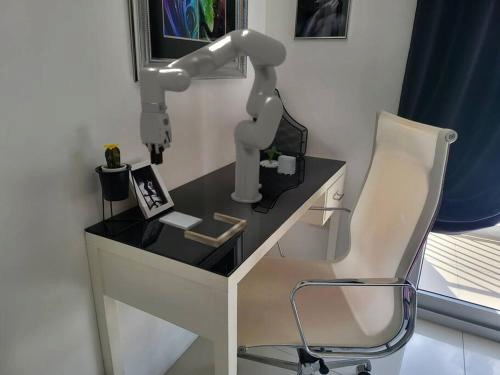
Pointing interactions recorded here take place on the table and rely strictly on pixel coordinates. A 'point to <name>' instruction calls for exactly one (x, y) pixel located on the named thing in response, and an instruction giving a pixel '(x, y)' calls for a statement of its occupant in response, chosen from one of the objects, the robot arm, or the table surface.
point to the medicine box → (286, 164)
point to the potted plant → (271, 162)
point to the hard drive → (180, 220)
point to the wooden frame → (223, 238)
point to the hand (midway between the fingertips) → (156, 163)
